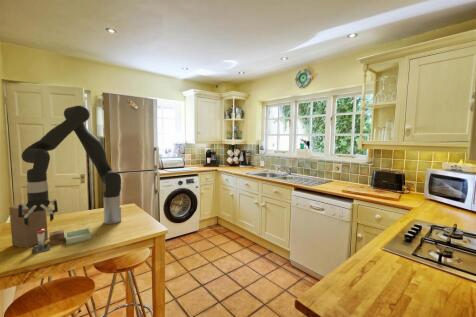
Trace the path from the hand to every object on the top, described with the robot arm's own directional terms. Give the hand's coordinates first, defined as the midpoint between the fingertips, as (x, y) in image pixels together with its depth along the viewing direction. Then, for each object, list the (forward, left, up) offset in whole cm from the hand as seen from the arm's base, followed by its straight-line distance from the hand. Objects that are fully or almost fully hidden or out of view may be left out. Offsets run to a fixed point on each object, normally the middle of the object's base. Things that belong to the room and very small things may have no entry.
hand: (39, 222), depth 109 cm
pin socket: (0, 0, -14) cm, 14 cm away
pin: (0, 0, -14) cm, 14 cm away
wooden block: (+4, -12, -14) cm, 19 cm away
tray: (-15, -3, -14) cm, 20 cm away
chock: (-6, -5, -14) cm, 16 cm away
